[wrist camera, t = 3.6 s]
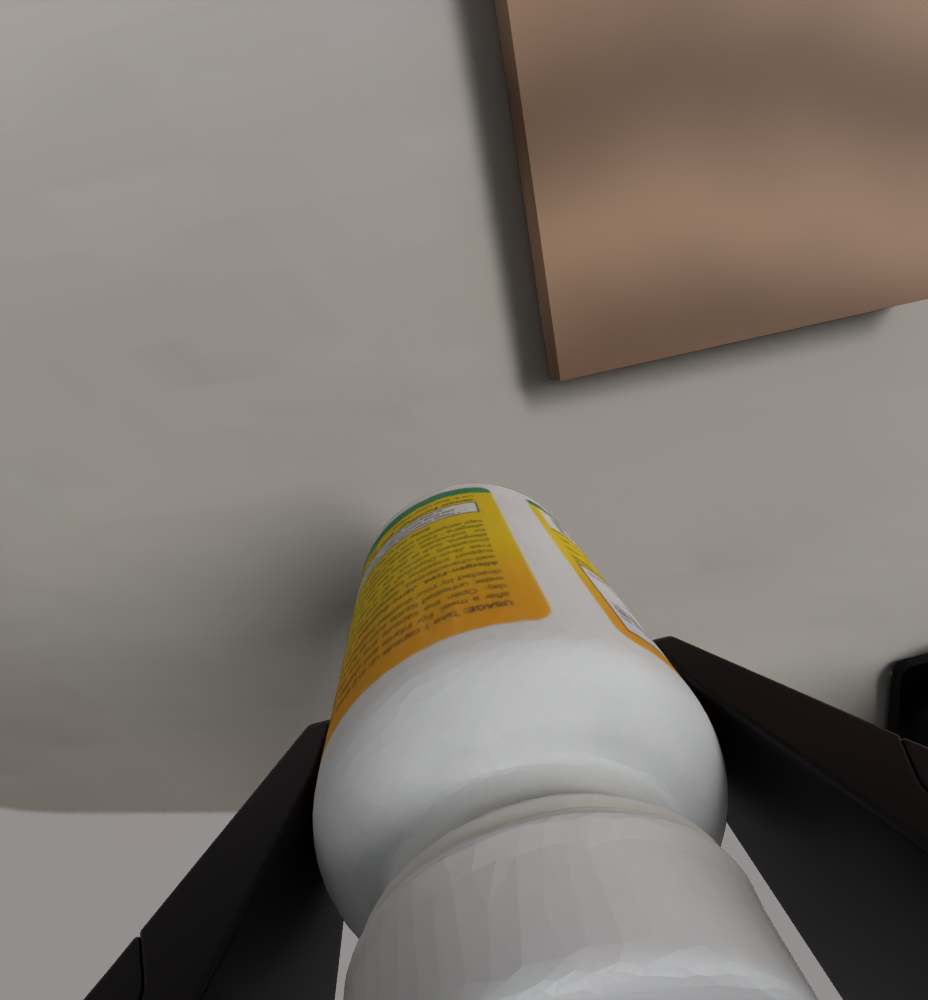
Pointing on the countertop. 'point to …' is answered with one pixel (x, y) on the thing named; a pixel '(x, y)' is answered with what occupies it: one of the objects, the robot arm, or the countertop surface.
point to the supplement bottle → (525, 782)
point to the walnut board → (716, 167)
